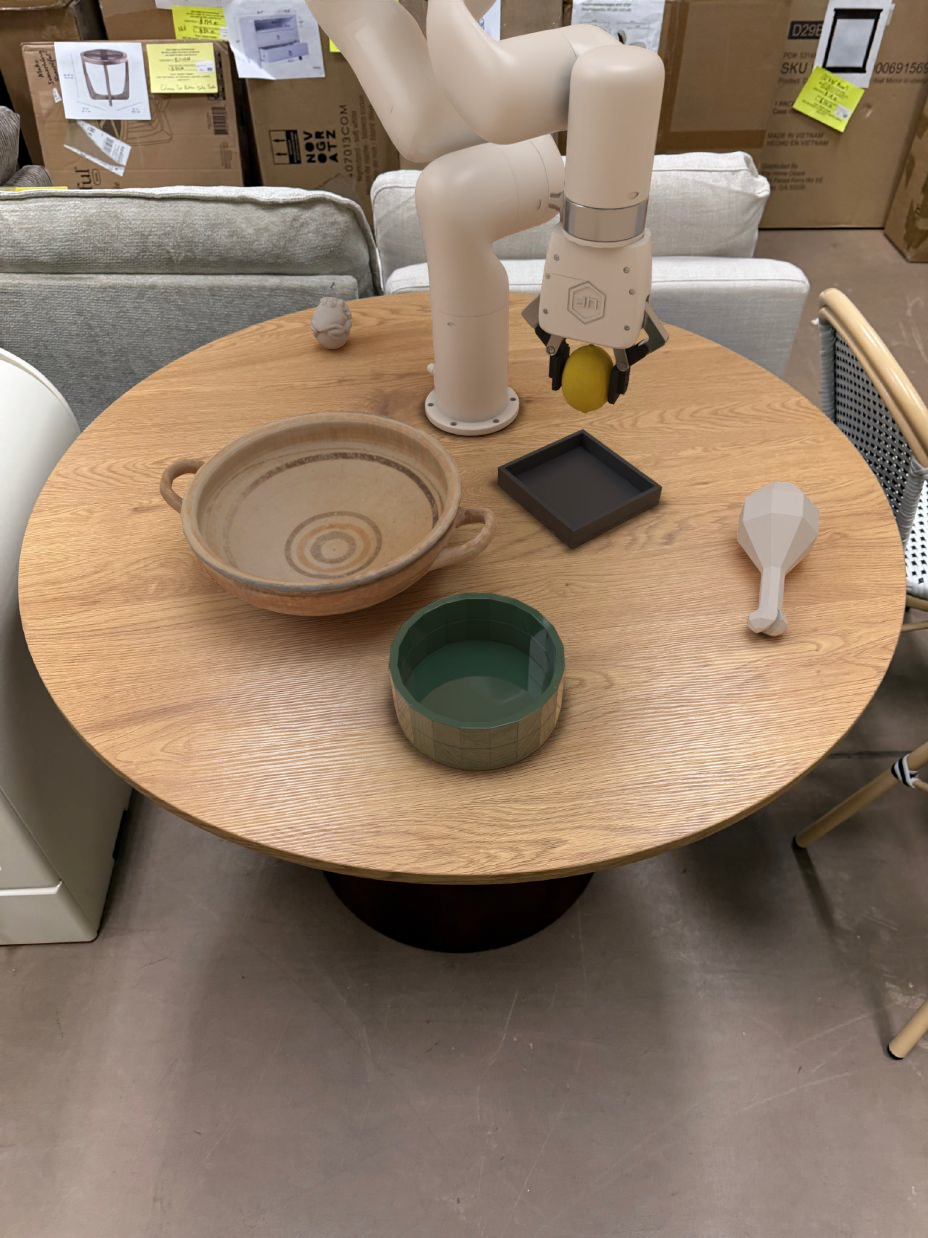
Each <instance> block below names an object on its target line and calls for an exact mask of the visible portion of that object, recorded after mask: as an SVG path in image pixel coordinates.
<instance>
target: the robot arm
mask: <svg viewBox="0 0 928 1238" xmlns="http://www.w3.org/2000/svg"><path fill="white" fill-rule="evenodd" d="M427 1H428V4H427V8H426V9H427V11H426V20H425V29H426V30H425V34H426V37H425V35H424V32H423V31H422V29H421V27H420V25H419V24H418V22H417V20H416V19H415V18H414V17H413V15H412V14H411V13H410V11H408V9H406V7H404V5H402V4H401V3H400V2H399V1H398V0H304V2H305V4H306V7H307V8H308V10H309V11H310V13H311V15H312V17H313V18H314V20H315V21H316V23H317V24H318V25H319V27H320V28H321V30H322V31H323V32H324V33H325V35H326V36H327V37H328V38H329V40H330V41H331V42H332V43H333V45H334V46H335V47H336V48H337V50H338V51H339V52H340V53H341V55H342V56H343V57H344V59H345V60H346V61H347V63H348V64H349V66H350V67H351V69H352V71H353V73H354V74H355V76H356V78H357V80H358V82H359V84H360V86H361V88H362V90H363V92H364V93H365V95H366V97H367V99H368V101H369V102H370V104H371V106H372V108H373V110H374V112H375V113H376V116H377V117H378V119H379V121H380V123H381V125H382V127H383V128H384V130H385V132H386V134H387V136H388V137H389V139H390V141H391V142H392V144H393V146H394V147H395V149H396V150H397V152H398V153H399V154H400V155H401V156H402V157H403V158H404V159H405V160H407V161H409V162H412V163H416V164H417V163H419V164H422V163H427V165H426V166H425V167H424V168H423V169H422V171H421V172H420V174H419V175H418V177H417V179H416V183H415V187H414V204H415V210H416V214H417V219H418V223H419V227H420V231H421V236H422V241H423V245H424V250H425V256H426V264H427V273H428V286H429V302H430V313H431V314H430V315H431V330H432V332H431V333H432V348H433V362H430V363H428V365H427V367H426V371H427V373H428V374H430V375H431V376H433V387H434V388H433V389H431V391H430V392H428V395H427V396H426V398H425V402H424V410H425V412H424V413H425V415H426V417H427V419H428V421H429V422H430V423H431V424H433V426H435V427H436V428H437V429H440V430H442V431H445V432H446V433H449V434H454V435H457V436H467V437H468V436H470V437H471V436H485V435H488V434H492V433H496V432H498V431H500V430H502V429H504V428H506V427H507V426H509V425H510V424H511V423H513V422H514V421H515V419H516V418H517V417H518V414H519V411H520V399H519V396H518V394H517V392H516V391H515V390H514V389H513V388H512V387H510V385H509V341H510V339H509V336H510V335H509V334H510V333H509V332H510V280H509V275H508V272H507V270H506V268H505V266H504V264H503V263H502V262H501V260H500V259H499V258H498V257H497V256H496V254H495V252H494V250H493V245H494V243H495V242H497V241H499V240H501V239H505V238H506V237H509V236H512V235H515V234H518V233H521V232H525V231H527V230H531V229H534V228H535V227H539V226H542V225H544V224H546V223H547V222H550V221H551V220H554V219H555V218H556V217H557V216H558V214H559V221H558V222H557V223H555V224H554V226H553V227H552V229H551V233H550V236H549V241H548V244H547V245H548V246H547V249H546V255H545V260H544V267H543V274H542V279H541V285H540V286H541V287H540V293H539V294H538V295H536V296H535V297H534V298H533V299H532V300H531V301H530V302H529V303H528V304H526V305H525V307H524V308H523V309H522V311H521V317H522V318H523V320H525V322H526V323H527V324H528V325H529V326H530V328H532V329H533V330H534V333H535V335H536V336H537V337H538V339H539V340H540V341H541V343H542V344H543V345H544V347H545V353H546V354H547V355H548V356H549V360H548V378H549V379H551V391H554V392H557V391H559V390H560V389H562V384H561V380H562V373H563V369H564V366H565V363H566V361H567V359H568V357H569V356H570V355H571V347H570V343H568V342H567V339H568V340H572V341H576V342H582V343H586V344H594V345H595V346H599V347H600V346H601V347H605V348H611V349H612V352H613V356H614V360H615V364H613V365H614V367H613V368H612V370H611V374H610V383H609V391H608V400H607V402H606V403H608V404H609V405H613V406H614V405H615V404H616V402H617V401H618V399H619V397H620V396H621V395H623V396H625V395H626V393H627V391H628V387H629V383H630V376H631V369H632V368H631V367H632V366H633V365H635V364H636V363H638V362H640V361H642V360H643V359H644V358H646V357H647V356H648V355H649V354H652V353H654V352H656V351H657V350H659V349H661V348H663V347H664V346H666V344H667V342H668V341H669V339H670V334H669V332H668V331H667V329H666V328H665V326H664V325H663V324H662V323H663V322H661V320H660V318H659V317H658V316H657V314H656V312H655V311H654V309H653V308H652V307H651V297H652V296H651V295H652V285H653V283H652V282H653V241H652V232H651V230H650V228H649V227H646V222H647V216H648V207H649V200H650V191H651V184H652V177H653V170H654V163H655V155H656V146H657V141H658V140H657V139H658V133H659V124H660V118H661V110H662V102H663V96H664V95H663V94H664V88H665V79H666V78H665V77H666V69H665V65H664V61H663V60H662V58H661V57H660V55H659V54H658V53H656V52H655V51H653V50H651V49H649V48H646V47H643V46H639V45H632V44H631V45H630V44H624V43H623V42H621V41H620V40H618V39H617V38H616V37H614V36H613V35H612V34H610V33H609V32H607V31H606V30H604V29H603V28H601V27H599V26H597V25H594V24H590V23H578V24H571V25H566V26H561V27H558V28H553V29H546V30H545V29H544V30H541V31H536V32H532V33H526V34H522V35H517V36H512V37H508V38H504V39H500V40H496V39H494V38H493V37H492V36H490V35H489V34H488V32H486V31H485V29H483V27H482V26H481V25H480V23H479V21H481V19H482V18H483V17H484V16H485V15H486V14H487V13H488V12H489V11H490V10H491V9H492V7H493V6H494V4H496V2H497V0H427ZM564 131H567V133H566V149H565V150H566V151H565V162H564V160H563V157H562V154H561V152H560V150H559V148H558V145H557V144H556V142H555V140H554V137H553V136H552V134H554V133H559V132H564ZM641 330H644V332H645V333H646V334H647V337H646V338H644V339H641V340H640V341H639V342H637V341H638V338H639V336H640V333H641ZM636 342H637V343H636Z"/></svg>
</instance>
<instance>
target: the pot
mask: <svg viewBox="0 0 928 1238" xmlns="http://www.w3.org/2000/svg"><path fill="white" fill-rule="evenodd" d="M391 642H392V643H391V644H390V649H389V658H388V672H389V673H388V675H389V679H390V687H391V693H392V700H393V707H394V710H395V713H396V717H397V721H398V724H399V727H400V729H401V730H402V732H403V734H404V735H405V737H406V739H407V740H408V741H409V742H410V744H412V745H413V747H415V748H416V749H417V750H418V751H419V752H420V753H421V754H423V755H424V756H426V757H428V758H429V759H430V760H433V761H435V762H437V763H439V764H441V765H444V766H448V767H450V768H455V769H460V770H464V771H465V770H467V771H489V770H496V769H500V768H504V767H507V766H511V765H514V764H516V763H519V762H520V761H522V760H525V759H526V758H528V757H529V756H531V755H532V754H533V753H535V752H536V751H537V750H539V749H540V748H541V747H542V746H543V745H544V744H545V743H546V741H547V740H548V739H549V738H550V736H551V735H552V733H553V731H554V729H555V728H556V725H557V722H558V721H559V716H560V712H561V709H562V703H563V695H564V685H565V675H566V656H565V655H566V654H565V645H564V643H563V642H562V639H561V637H560V635H559V633H558V631H557V629H556V627H555V626H554V624H553V623H551V622H550V621H549V619H547V618H546V617H545V615H543V614H542V613H541V612H540V611H539V610H538V609H537V608H534V607H532V606H531V605H529V604H527V603H525V602H523V601H521V600H519V599H517V598H514V597H511V596H506V595H501V594H497V593H493V592H463V593H458V594H454V595H450V596H449V595H448V596H445V597H440V598H439V599H436V600H435V601H433V602H431V603H429V604H427V605H425V606H423V607H421V608H419V609H418V610H416V611H415V612H414V613H413V614H412V615H410V617H409V618H408V619H406V620H405V622H404V623H402V624H401V626H400V627H399V630H398V631H397V633H396V635H395V637H394V638H393V640H392V641H391Z"/></svg>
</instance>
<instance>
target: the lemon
mask: <svg viewBox="0 0 928 1238" xmlns="http://www.w3.org/2000/svg"><path fill="white" fill-rule="evenodd" d="M614 365H615V364H614V362H613V359H612V357H611V356H610V354H609V353H608V352H607V350H605V349H604V348H602V347H600V346H599V345H595V344H591V343H588V344H585V345H583V346H580V347H577V348H576V349H574V351H572V352H570V356H569V357H568V359H567V361H566V363H565V366H564V369H563V373H562V380H561V384H562V386H561V391H562V395H563V398H564V399H565V401H566V403H567V404H568V405H569V406H570V407H571V408H572V409H574V410H576V411H579V412H581V414H588V413H591V412H594V411H597V410H599V409H601V408H602V407H603V406H605V405H606V403H608V402H607V400H608V391H609V383H610V374H611V370H612V368H613V367H614Z"/></svg>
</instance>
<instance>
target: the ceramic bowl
mask: <svg viewBox="0 0 928 1238" xmlns="http://www.w3.org/2000/svg"><path fill="white" fill-rule="evenodd" d="M188 474H192V475H193V477H192V478H191V480H190V482H189V483H188V484H187V487H186V490H185V493H184V495H183V496H182V497H181V496H180V495H179V494H178V493H176V492H175V491H174V489H173V488H172V487H173V483H174V481H175V479H177V478H179V477H181V476H184V475H188ZM462 485H463V483H462V479H461V474H460V471H459V466H458V465H457V463H456V461H455V460H454V457H453V456H452V454H451V452H449V451H448V450H447V448H446V447H445V446H444V445H443V444H442V443H441V442H440V441H439V440H437V439H436V438H435V437H434V436H432V435H431V434H430V433H429V432H427V431H425V430H423V429H421V428H419V427H417V426H416V425H414V424H411V423H410V422H406V421H404V420H400V419H398V418H395V417H391V416H387V415H383V414H377V413H372V412H364V411H352V410H336V411H335V410H333V411H332V410H331V411H330V410H329V411H319V412H310V413H304V414H299V415H295V416H289V417H285V418H282V419H278V420H275V421H272V422H269V423H266V424H263V425H260V426H259V427H256V428H254V429H252V430H250V431H247V432H245V433H243V434H242V435H240V436H238V437H236V438H234V439H233V440H231V441H229V442H228V443H226V444H225V445H223V446H221V448H220V449H218V450H217V451H216V452H215V453H213V454H212V455H211V456H210V457H209V458H208V459H207V460H206V461H202V460H198V459H193V458H183V459H180V460H177V461H175V462H174V463H172V464H170V465H168V466H167V467H166V468H164V471H163V472H162V474H161V477H160V480H159V494H160V496H161V497H162V499H163V500H164V502H165V503H166V504H167V505H168V506H169V507H171V508H172V509H173V510H174V511H176V513H178V514H179V515H180V522H181V528H182V533H183V535H184V537H185V539H186V541H187V542H188V545H189V547H190V549H191V550H192V552H194V556H195V557H196V559H197V561H198V563H199V564H200V566H201V567H202V568H203V569H204V570H205V571H206V572H207V574H208V575H209V576H210V577H211V579H213V581H214V582H216V583H217V584H218V585H219V586H220V587H222V588H223V589H224V590H226V592H228V593H230V594H231V595H233V596H234V597H236V598H238V599H239V600H242V601H244V602H246V603H248V604H251V605H253V606H255V607H257V608H260V609H265V610H268V611H270V612H274V613H279V614H285V615H291V616H299V617H328V616H335V615H344V614H349V613H353V612H357V611H361V610H364V609H368V608H371V607H373V606H376V605H379V604H381V603H383V602H385V601H388V600H390V599H392V598H394V597H395V596H397V595H399V594H401V593H402V592H404V591H406V590H408V589H409V588H410V587H412V586H413V585H414V584H416V583H417V582H419V580H421V579H422V578H423V577H424V576H426V574H428V572H431V571H435V570H438V569H441V568H446V567H449V566H453V565H457V564H460V563H461V564H462V563H464V562H467V561H468V560H471V559H474V558H476V557H477V556H478V555H480V554H481V553H482V552H484V551H485V549H486V548H487V547H488V546H489V544H490V543H491V542H492V540H493V539H494V537H495V536H496V533H497V529H498V521H497V517H496V514H495V513H494V511H492V509H490V508H487V507H465V506H461V505H460V504H461V500H462ZM472 524H484V527H483V528H481V530H480V532H479V533H478V534H477V535H476V536H475V537H474V538H473V539H471V540H469V541H468V542H466V543H463V544H461V545H458V546H455V547H448V546H449V545H450V543H451V540H452V539H453V536H454V533H455V530H456V529H458V528H461V527H463V526H467V525H472Z"/></svg>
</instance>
